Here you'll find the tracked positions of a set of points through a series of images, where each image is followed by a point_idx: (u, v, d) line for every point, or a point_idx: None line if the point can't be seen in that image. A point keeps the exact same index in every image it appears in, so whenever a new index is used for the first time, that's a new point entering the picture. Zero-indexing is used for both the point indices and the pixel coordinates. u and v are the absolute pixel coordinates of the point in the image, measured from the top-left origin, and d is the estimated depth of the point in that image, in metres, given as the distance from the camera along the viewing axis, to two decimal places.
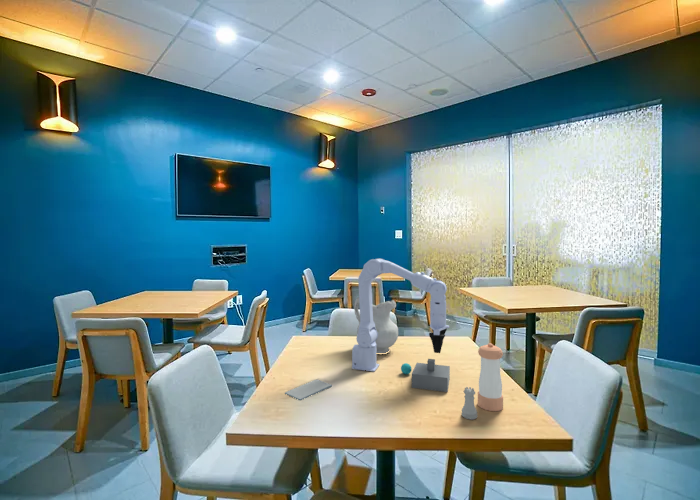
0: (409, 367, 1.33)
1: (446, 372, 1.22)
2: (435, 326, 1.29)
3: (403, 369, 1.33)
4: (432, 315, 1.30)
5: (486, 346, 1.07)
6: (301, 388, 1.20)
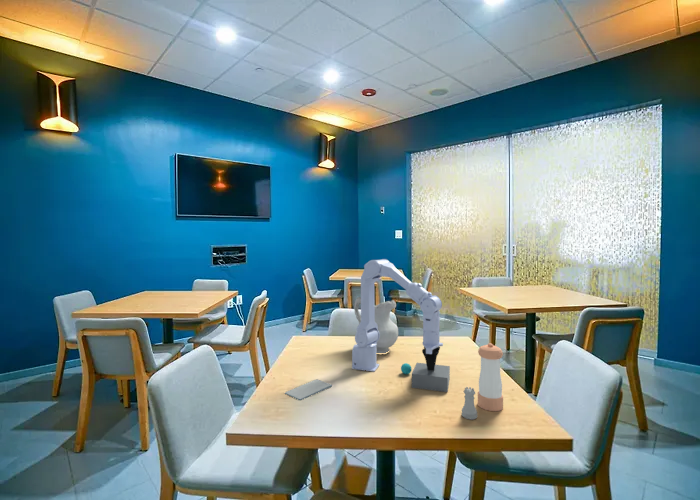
0: (409, 367, 1.33)
1: (446, 372, 1.22)
2: (428, 344, 1.23)
3: (403, 369, 1.33)
4: (425, 332, 1.24)
5: (486, 346, 1.07)
6: (301, 388, 1.20)
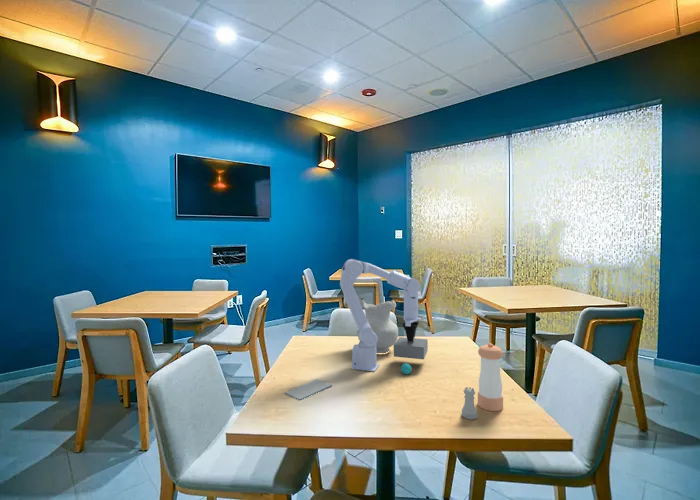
0: (409, 367, 1.33)
1: (423, 343, 1.42)
2: (407, 318, 1.42)
3: (403, 369, 1.33)
4: (405, 308, 1.43)
5: (486, 346, 1.07)
6: (301, 388, 1.20)
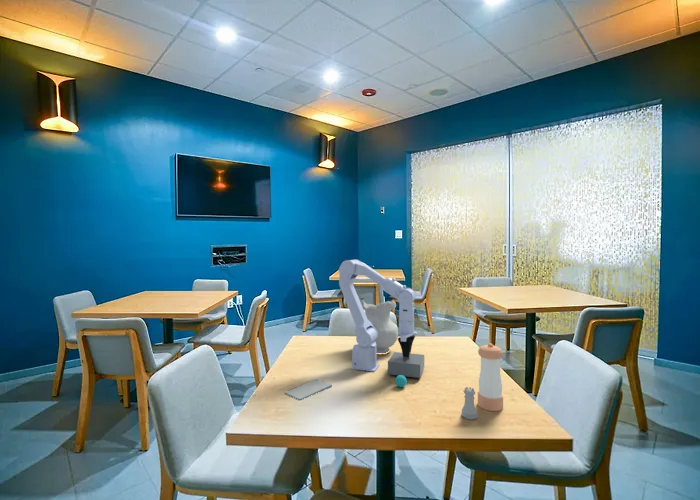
0: (404, 379, 1.21)
1: (420, 360, 1.32)
2: (403, 333, 1.32)
3: (397, 381, 1.21)
4: (400, 322, 1.33)
5: (486, 346, 1.07)
6: (301, 388, 1.20)
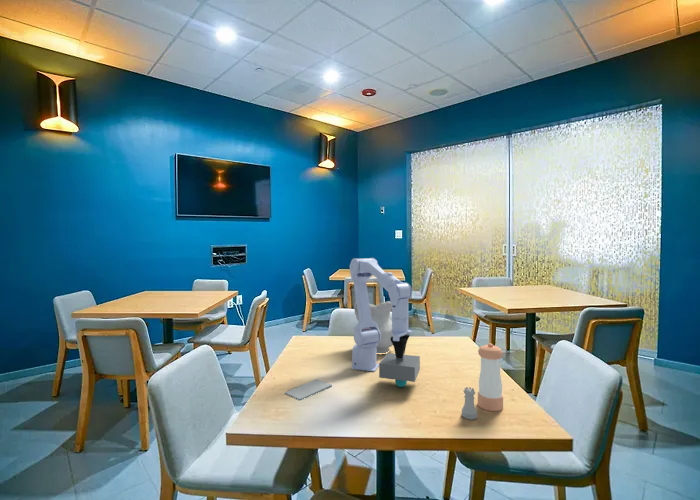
0: None
1: (414, 362, 1.20)
2: (396, 331, 1.20)
3: (397, 381, 1.21)
4: (393, 319, 1.21)
5: (486, 346, 1.07)
6: (301, 388, 1.20)
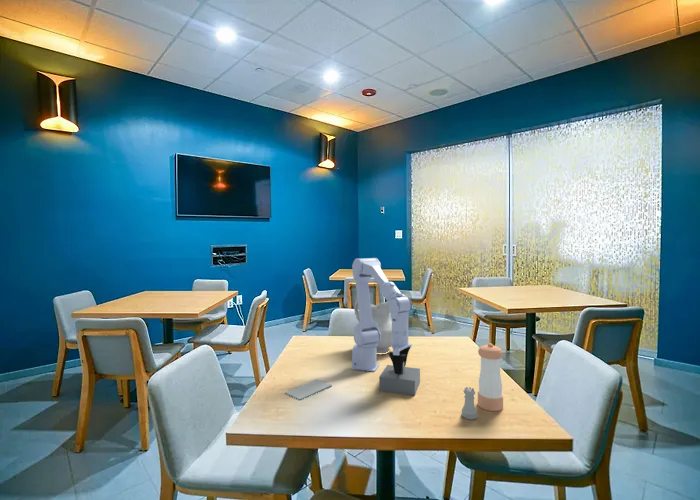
0: None
1: (415, 375, 1.20)
2: (396, 345, 1.20)
3: None
4: (393, 333, 1.21)
5: (486, 346, 1.07)
6: (301, 388, 1.20)
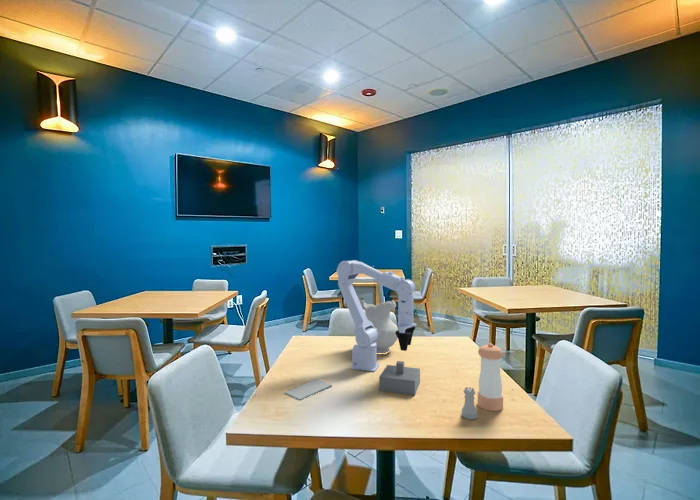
0: None
1: (415, 375, 1.20)
2: (402, 324, 1.31)
3: None
4: (399, 313, 1.32)
5: (486, 346, 1.07)
6: (301, 388, 1.20)
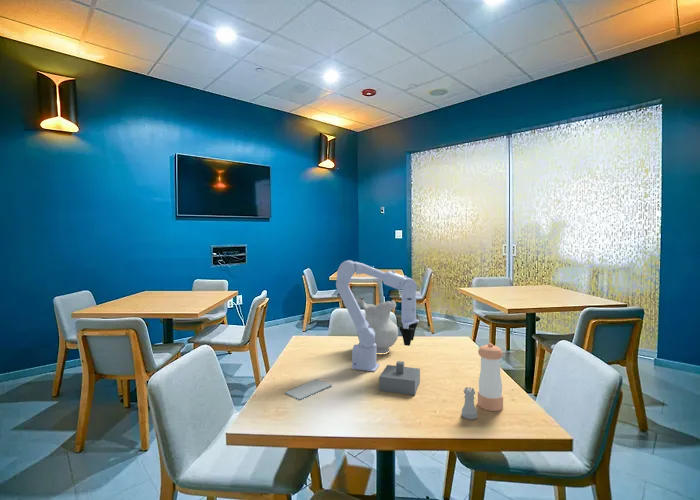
0: None
1: (415, 375, 1.20)
2: (405, 320, 1.37)
3: None
4: (403, 310, 1.38)
5: (486, 346, 1.07)
6: (301, 388, 1.20)
